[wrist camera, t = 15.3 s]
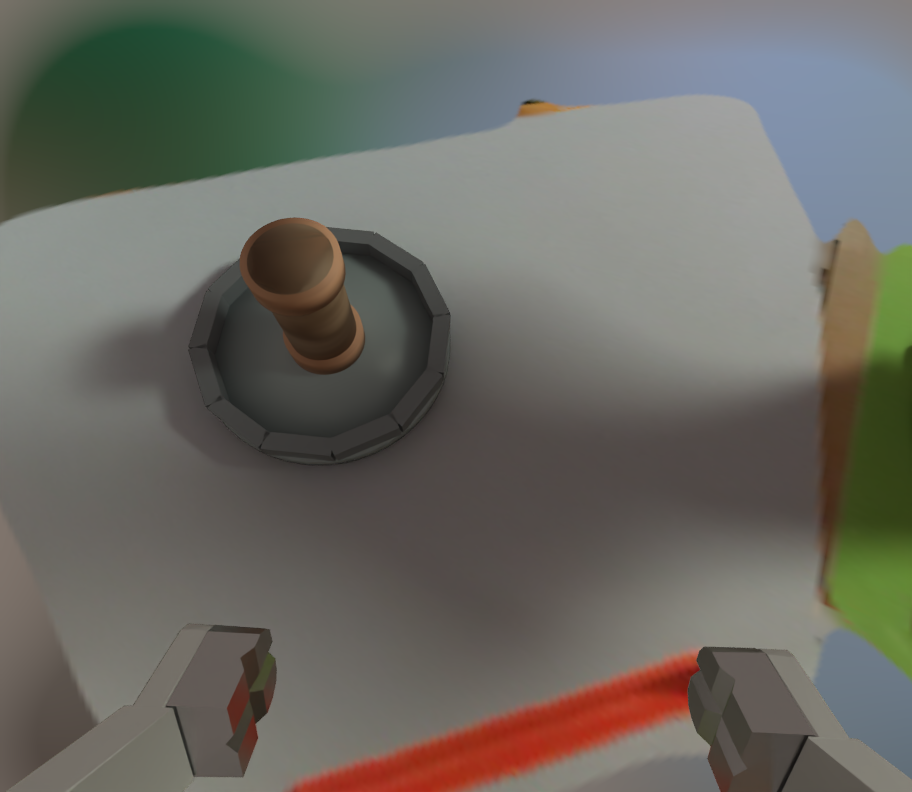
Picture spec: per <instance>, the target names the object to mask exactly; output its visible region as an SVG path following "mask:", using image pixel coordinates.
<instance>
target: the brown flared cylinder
mask: <svg viewBox="0 0 912 792" xmlns="http://www.w3.org/2000/svg"><path fill="white" fill-rule="evenodd" d="M240 271H241V275H242V277H243V279H244V281H245V283H246V284H247V286H248V287H249V289H250V291H251V292H252V294H253V295H254V297H255V298H256V300H257V301H258V302H259V303H260V304H261V305H262V306H263V307H264V308H266V309H268V310H269V311H271V312H272V313H273V315H274V317H275V318H276V320H277V322H278V323H279V325H280V327H281V328H282V330H283V340H284V343H285V346H286V348H287V349H288V351H289V353H290V354H291V356H292V357H293V359H294V360H295V362H296V363H297V364H298V365H299V366H300V367H301V368H303V369H304V370H306V371H308V372H311V373H314V374H320V375H329V374H335V373H338V372H341V371H343V370H345V369H347V368H348V367H350V366H351V365H352V364H354V363H355V362H356V361H357V359H358V358H359V357H360V355H361V353H362V351H363V349H364V345H365V332H364V328H363V325H362V322H361V319H360V316H359V314H358V312H357V311H356V309H355V308H354V307H353V306H352V305H351V304H350V302H349V299H348V296H347V293H346V289H345V286H344V281H345V275H346V270H345V264H344V260H343V257H342V253H341V250H340V247H339V244H338V241H337V239H336V238H335V236H334V235H333V234H332V232H331V231H330V230H329V229H327V228H326V227H325V226H323V225H321V224H320V223H318V222H315V221H313V220H309V219H304V218H286V219H280V220H277V221H274V222H271V223H269V224H267V225H265V226H263V227H262V228H260V229H258V230H257V231H256V232H255V233H254V234H253V235H252V236H251V237H250V238H249V239H248V241H247V242H246V243H245V245H244V247H243V249H242V252H241V255H240Z"/></svg>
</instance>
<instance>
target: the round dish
mask: <svg viewBox="0 0 912 792" xmlns="http://www.w3.org/2000/svg"><path fill="white" fill-rule="evenodd" d="M326 228H327V229H329V230H330V231H331V232H332V234H333V235H334V236H335V238H336V239H337V241H338V244H339V247H340V250H341V253H342V257H343V260H344V264H345V270H346V275H345V281H344V286H345V289H346V293H347V296H348V299H349V302H350V304H351V305H352V306H353V307H354V308H355V309H356V311H357V312H358V314H359V316H360V319H361V322H362V325H363V328H364V332H365V345H364V349H363V351H362V353H361V355H360V357H359V358H358V359H357V361H356V362H355V363H354V364H352V365H351V366H350V367H348V368H347V369H345V370H343V371H341V372H338V373H335V374H329V375H320V374H314V373H311V372H308V371H306V370H304V369H303V368H301V367H300V366H299V365H298V364H297V363H296V362H295V360H294V359H293V357H292V356H291V354H290V353H289V351H288V349H287V348H286V346H285V343H284V340H283V330H282V328H281V327H280V325H279V323H278V322H277V320H276V318H275V317H274V315H273V313H272V312H271V311H269V310H268V309H266V308H264V307H263V306H262V305H261V304H260V303H259V302H258V301H257V300H256V298H255V297H254V295H253V294H252V292H251V291H250V289H249V287H248V286H247V284H246V283H245V281H244V279H243V277H242V275H241V271H240V259H239V260H238V261H237V262H236V263H234V264H233V265H232V266H231V267H230V268H229V269H228V270H227V271H226V272H225V273H224V274H223V275H222V276H221V277H220V278H219V279H217V280H216V281H215V282H214V283H213V284H212V285H211V286H210V287H209V288H208V290H209V291H206V293H205V297H204V300H203V303H202V306H201V309H200V312H199V315H198V318H197V322H196V325H195V328H194V331H193V334H192V337H191V340H190V344H189V348H190V349H189V354H190V357H191V360H192V364H193V367H194V370H195V374H196V377H197V380H198V384H199V387H200V390H201V393H202V397H203V400H204V403H205V406H206V407H207V409H208V410H209V411H211V412H212V413H213V414H214V415H216V416H217V417H218V418H220V419H221V420H222V421H223V423H224V424H225V425H226V426H227V427H228V428H229V429H230V430H231V431H232V432H234V433H235V434H236V435H237V436H238V437H239V438H241V439H242V440H243V441H245V442H246V443H248V444H249V445H251V446H252V447H254V448H255V449H257V450H259V451H261V452H263V453H265V454H267V455H269V456H272V457H275V458H278V459H281V460H284V461H288V462H293V463H299V464H308V465H328V464H339V463H344V462H348V461H353V460H357V459H360V458H363V457H366V456H368V455H371V454H374V453H376V452H378V451H380V450H382V449H384V448H386V447H388V446H389V445H391V444H393V443H394V442H396V441H397V440H399V439H400V438H402V437H403V436H404V435H405V434H406V433H408V432H409V431H410V430H411V429H412V428H413V427H415V426H416V424H417V423H418V422H419V421H420V420H421V419H422V418H423V417H424V416H425V414H426V413H427V412H428V410H429V409H430V407H431V406H432V404H433V403H434V401H435V400H436V398H437V396H438V394H439V392H440V390H441V388H442V385H443V382H444V379H445V376H446V373H447V369H448V363H449V356H450V332H449V330H450V312H449V310H448V308H447V306H446V304H445V302H444V300H443V298H442V296H441V294H440V292H439V290H438V288H437V286H436V284H435V282H434V280H433V279H432V277H431V275H430V273H429V271H428V269H427V267H426V265H425V264H424V265H423V262H422V261H421V260H419V259H417V258H416V257H414V256H413V255H411V254H409V253H408V252H406V251H405V250H403V249H401V248H400V247H398V246H397V245H395V244H393V243H392V242H390V241H389V240H387V239H385V238H384V237H382V236H381V235H379V234H377V233H375V234H374V232H371V231H361V230H351V229H340V228H330V227H326Z"/></svg>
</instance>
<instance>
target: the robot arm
mask: <svg viewBox="0 0 912 792" xmlns="http://www.w3.org/2000/svg"><path fill="white" fill-rule="evenodd" d="M271 644H272V637H271V633H270V629H264V628H250V627H236V626H222V625H204V624H187V625H186V626H185V627H184V628H183V629H182V630H181V631H180V632H179V633H178V635H177V636H176V638H175V640H174V641H173V643H172V644H171V646H170V648H169V649H168V651H167V652H166V654H165V655H164V657H163V659H162V660H161V662H160V663H159V665H158V667H157V668H156V670H155V671H154V673H153V675H152V676H151V678H150V679H149V681H148V682H147V684H146V686H145V687H144V689H143V690H142V692H141V694H140V695H139V697H138V698H137V700H136V702H135V703H134V705H133V706H123V707H122V708H120V709H119V710H118V711H116V712H115V713H114V714H112V715H111V716H109V717H108V718H107V719H105V720H104V721H102V722H101V723H100V724H98V725H97V726H96V727H94V728H93V729H91V730H90V731H89V732H87V733H86V734H85V735H83V736H82V737H81V738H79V739H78V740H76V741H75V742H73V743H72V744H71V745H69V746H68V747H67V748H65V749H64V750H63V751H61V752H60V753H58V754H57V755H56V756H54V757H53V758H52V759H50V760H49V761H47V762H46V763H45V764H43V765H42V766H41V767H39V768H38V769H36V770H35V771H34V772H32V773H31V774H29V775H28V776H27V777H25V778H24V779H22V780H21V781H20V782H18V783H17V784H15V785H14V786H13V787H12V788H10V789H9V790H7V791H6V792H183V791H184V790H185V789H186V788H187V787H188V786H189V785H190V784H191V783H192V782H193V781H194V777H243V776H244V774H245V771H246V769H247V766H248V763H249V761H250V758H251V755H252V753H253V750H254V747H255V745H256V742H257V739H258V735H257V730H256V725H255V724H256V723H257V722H258V721H259V720H260V719H261V718H263V717H264V716H265V715H266V714H267V713H268V710H269V707H270V704H271V701H272V698H273V694H274V689H275V684H276V674H277V667H276V660H275V658H274V657H273V656H272V655H271V654H270V653H269V649H270V647H271ZM696 661H697V663H698V665H699V668H700V671H698V672H697V673H696V674H694V675H693V676H692V677H691V679H690V683H689V687H688V706H689V710H690V714H691V718H692V721H693V723H694V726H695V729H696V731H697V733H698V734H699V735H700V736H701V737H702V738H703V739H704V740H705V741H706V742H707V743H708V744H709V745H710V746H711V747H710V751H709V755H708V758H707V759H708V762H709V764H710V766H711V769H712V771H713V774H714V776H715V779H716V781H717V784H718V786H719V789H720V791H721V792H912V780H911V779H910V778H909V777H907V776H906V775H905V774H904V773H902V772H901V771H900V770H898V769H897V768H896V767H894V766H893V765H892V764H890V763H889V762H888V761H886V760H885V759H884V758H883V757H881V756H880V755H879V754H877V753H876V752H875V751H873V750H872V749H871V748H869V747H868V746H867V745H865V744H864V743H862V741H860V740H859V739H852V738H849V737H848V736H847V734H846V733H845V731H844V730H843V728H842V727H841V725H840V724H839V722H838V721H837V719H836V718H835V716H834V715H833V713H832V712H831V710H830V709H829V707H828V706H827V704H826V703H825V701H824V700H823V698H822V697H821V695H820V694H819V692H818V691H817V689H816V688H815V686H814V685H813V683H812V682H811V680H810V679H809V677H808V676H807V674H806V673H805V671H804V670H803V668H802V667H801V665H800V664H799V662H798V661H797V659H796V658H795V656H794V655H793V654H792V653H790V652H789V651H788V650H776V649H756V648H735V647H703V648H702V649H701V650H700V651H699V654H698V657H697V660H696Z"/></svg>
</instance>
